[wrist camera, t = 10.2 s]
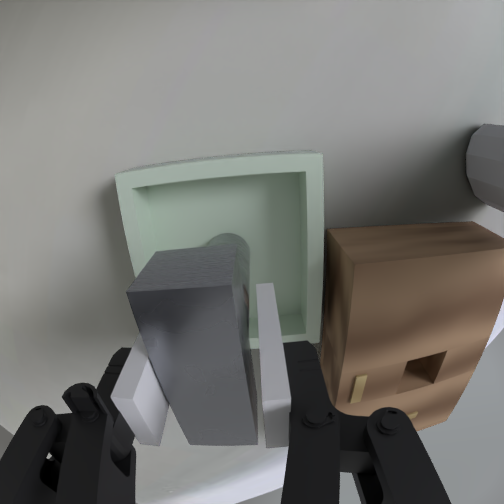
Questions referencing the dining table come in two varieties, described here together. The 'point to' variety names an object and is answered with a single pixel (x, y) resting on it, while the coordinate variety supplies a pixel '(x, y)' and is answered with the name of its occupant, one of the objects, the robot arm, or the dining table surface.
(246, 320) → the t key
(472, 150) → the water bottle
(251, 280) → the tray
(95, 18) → the dining table surface
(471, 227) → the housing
